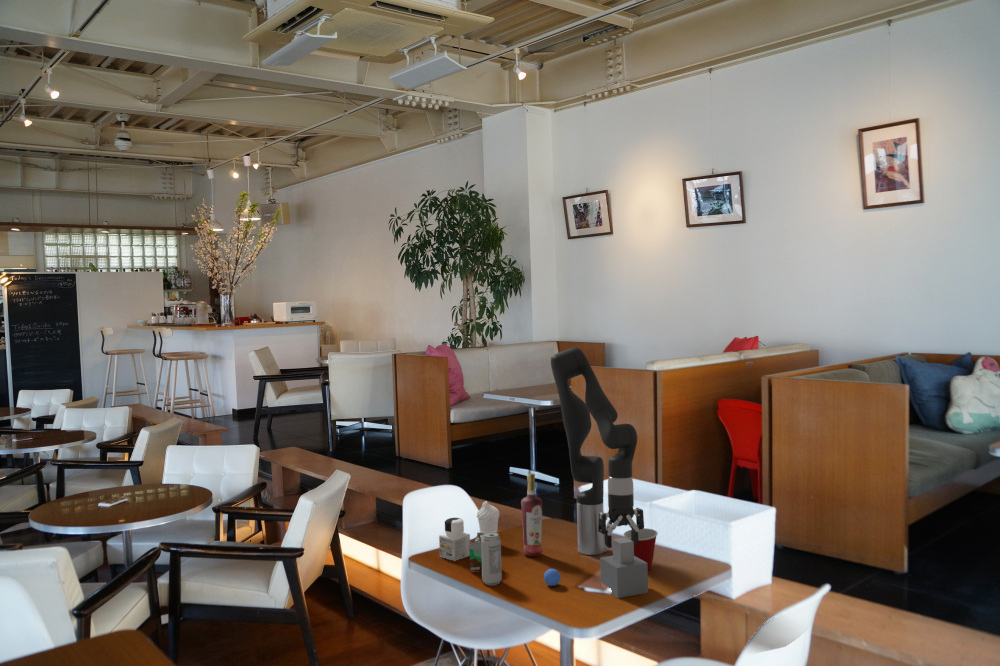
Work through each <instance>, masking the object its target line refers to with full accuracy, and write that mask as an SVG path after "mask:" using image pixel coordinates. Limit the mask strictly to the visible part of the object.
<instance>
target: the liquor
mask: <svg viewBox="0 0 1000 666" xmlns="http://www.w3.org/2000/svg"><path fill="white" fill-rule="evenodd" d="M526 479H527V491H526V493H527V494H526V496H524V497H523V498H522V499H521V500H520V505H521V522H522V523H521V524H522V533H523V536H522V537H523V550H522V553H524V554H525V555H526V557H529V556H537V557H539V556H540V555H541V554H542V553H543V548H542V521H543V519H542V518H543V500H542V499H541V498H540V497H538V496H537V494H536V486H535V481H536V475H535V473H527V474H526Z"/></svg>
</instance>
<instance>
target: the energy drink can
mask: <svg viewBox="0 0 1000 666" xmlns="http://www.w3.org/2000/svg"><path fill="white" fill-rule="evenodd" d="M481 548H482V571H481V579H482V580H481V581H483V583H485V585H486V584H487V585H486V586H498V585H499V584H501V581H502V579H503V578H502V575H503V574H502V539H501V537H500V535H499V533H494V532H489V533H485V534H483V538H482V540H481ZM497 584H498V585H497Z"/></svg>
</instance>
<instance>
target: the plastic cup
mask: <svg viewBox="0 0 1000 666" xmlns="http://www.w3.org/2000/svg"><path fill="white" fill-rule="evenodd" d="M631 531H632V529H629V530H627V531H625V532H624V533H623V536H624V538H625V537H626V538H628V539H630V540H631ZM658 534H659V533H658V531H657V530H654V529H652V528H645V527H644V529H640V530H639V531H638V542H637V544H634V556H636V557H637V558H639V559H641V560H643V561H645V562H646V563H647V566H648V572H650V571H651V570H652V569H653V568H652V567H653V566H652V565H653V560H654V554H655V546H656V540H657V536H658Z"/></svg>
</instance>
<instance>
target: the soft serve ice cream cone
mask: <svg viewBox="0 0 1000 666" xmlns="http://www.w3.org/2000/svg"><path fill="white" fill-rule="evenodd" d="M476 514H477V515H476V518H477V520H478V525H479V533H489V532H494V533H497V532H498V531H499V529H498V523H499V518H500V511H499V509H498V508H497V507H495V506H494V505H492V504H490V503H489V502H488V501H487V500H485V501H484V502H482V505H481V508H480V509H479V510H478V511H477V513H476Z"/></svg>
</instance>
